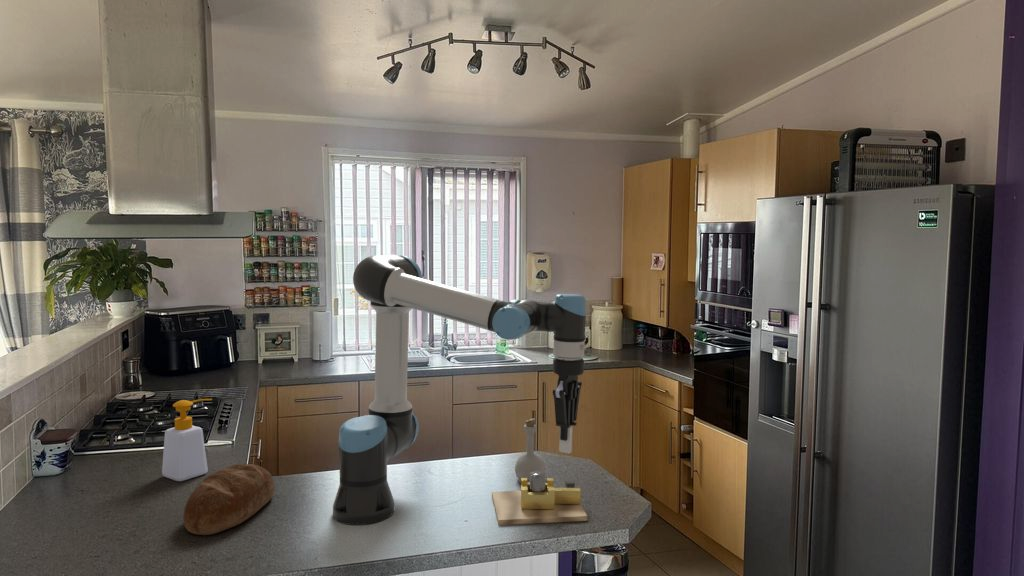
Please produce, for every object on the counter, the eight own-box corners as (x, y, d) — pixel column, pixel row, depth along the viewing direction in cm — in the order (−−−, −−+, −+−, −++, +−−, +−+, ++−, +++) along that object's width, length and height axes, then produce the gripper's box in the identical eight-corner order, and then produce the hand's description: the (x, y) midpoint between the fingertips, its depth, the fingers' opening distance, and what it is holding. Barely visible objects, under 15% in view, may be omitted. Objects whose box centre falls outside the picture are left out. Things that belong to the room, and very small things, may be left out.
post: (530, 511, 167) (531, 476, 166) (528, 505, 171) (528, 471, 170) (546, 510, 167) (546, 476, 166) (543, 504, 171) (544, 470, 170)
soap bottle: (223, 469, 196) (221, 396, 195) (178, 483, 184) (176, 406, 183) (204, 463, 201) (202, 392, 200) (159, 477, 190) (157, 401, 188)
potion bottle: (542, 486, 184) (543, 423, 182) (511, 484, 185) (512, 421, 184) (547, 475, 192) (547, 415, 191) (517, 473, 194) (517, 413, 193)
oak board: (498, 524, 159) (498, 520, 159) (491, 496, 176) (491, 491, 176) (587, 520, 161) (587, 515, 161) (571, 492, 179) (571, 488, 179)
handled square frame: (521, 508, 165) (521, 490, 164) (521, 495, 173) (521, 477, 173) (581, 509, 164) (581, 490, 164) (578, 496, 173) (579, 478, 172)
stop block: (566, 500, 171) (567, 483, 171) (565, 497, 173) (565, 480, 173) (574, 499, 171) (574, 483, 171) (572, 496, 173) (572, 480, 173)
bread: (166, 536, 152) (164, 489, 151) (234, 489, 181) (233, 449, 180) (229, 540, 150) (228, 492, 149) (288, 492, 179) (287, 451, 178)
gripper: (572, 363, 153) (568, 462, 154) (592, 355, 164) (589, 447, 166) (543, 359, 156) (540, 456, 158) (565, 351, 167) (561, 442, 169)
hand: (565, 451), depth 162 cm, fingers closed
